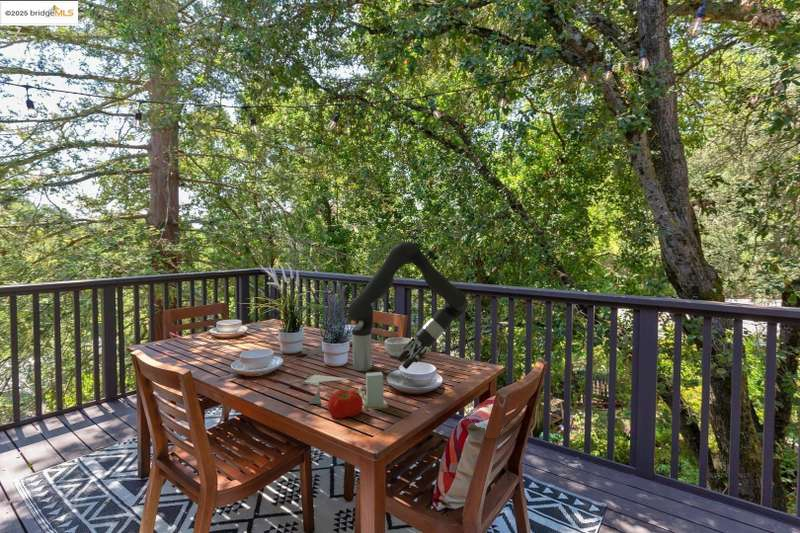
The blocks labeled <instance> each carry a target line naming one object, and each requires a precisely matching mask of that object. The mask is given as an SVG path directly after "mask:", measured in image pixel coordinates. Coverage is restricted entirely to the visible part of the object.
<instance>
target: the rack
mask: <svg viewBox="0 0 800 533" xmlns="http://www.w3.org/2000/svg"><path fill="white" fill-rule="evenodd" d="M357 393H358V394H359V395H360V396H361V398H362V402H363V404H362V408H363V409H364V411H371V410H379V409H389V408H390V407H389V405H388V403H387V401H386V400H385V398H384V396H383V406H375V407H368V406H367V404H366V395H365V393H364V390H363V391H362V389H361V388H360V387H359V388H358V391H357Z"/></svg>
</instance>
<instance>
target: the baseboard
mask: <svg viewBox="0 0 800 533" xmlns="http://www.w3.org/2000/svg"><path fill="white" fill-rule="evenodd" d="M341 380H343V381H344V380H350V378H345V377H338V376H329V375H320V374H315V372H313V373H312V374H310V375H309V374H308V375H307V376H306V379H305V380H304V379H303V380H301V381H302V382H303V383H304V382H306V383H310V384H314V385H317V386H316V387H320V383H321V382H330V381H332V382H333V381H341Z"/></svg>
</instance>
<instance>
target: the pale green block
mask: <svg viewBox="0 0 800 533" xmlns="http://www.w3.org/2000/svg"><path fill="white" fill-rule="evenodd" d="M365 386H366V404H367V406H368V407H375V406H383V397H384V373H382V371H374V372H366V373H365Z"/></svg>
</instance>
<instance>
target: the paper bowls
mask: <svg viewBox="0 0 800 533" xmlns="http://www.w3.org/2000/svg"><path fill="white" fill-rule="evenodd" d="M411 339H412V338H409V337H391V338H386V339H385V340H384V351H386V352H388V354H389V355H390V356H392V357H395V358H398V357H399V356H400V355H401V354H402V352H404V351H403V350H404V349H403V348H404V347H405V346H406V344H407V343H408V342H409V341H410V340H411Z"/></svg>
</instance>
